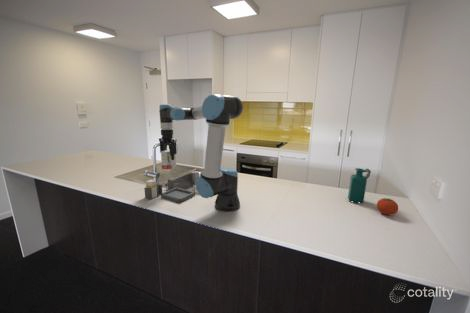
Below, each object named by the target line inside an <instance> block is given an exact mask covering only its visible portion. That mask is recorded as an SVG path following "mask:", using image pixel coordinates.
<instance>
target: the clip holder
mask: <svg viewBox="0 0 470 313" xmlns="http://www.w3.org/2000/svg"><path fill="white" fill-rule="evenodd" d="M167 188H168V190H171V189H173V188H175V180H174V179H171V178H168V179H167ZM162 193H163V185H162V184H160V183H157V180H154V179H148V180H146V181H145V187H144V198H145V199H147V200H153V199H156V198H158V197H159V196H161V194H162Z"/></svg>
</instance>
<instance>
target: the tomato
mask: <svg viewBox="0 0 470 313" xmlns="http://www.w3.org/2000/svg"><path fill="white" fill-rule="evenodd" d="M398 205H399V204H398V203H397V202H396V201H395V200H394V199H392V198H385V197H384V198H380V199H379V200H378V201H377V202H376V209H377V210H378V211H379V212H380V213H381V214H383V215H386V216H393V215H395V214H396V213H398V211H399V206H398Z"/></svg>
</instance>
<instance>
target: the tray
mask: <svg viewBox="0 0 470 313" xmlns="http://www.w3.org/2000/svg"><path fill="white" fill-rule="evenodd" d="M193 196H194V197H195V196H196V192H195V191H194V190H193V191H192V190H188V189H184V188H181V187H176V186H175V187H174V188H173V189H168V190H166V191H164V192H162V194H161V195H160V198H161V199H165V200H168V201H171V202H172V201H173V202H174V203H179V204H182V203H184V202H186V201H189V199H192V198H194V197H193Z"/></svg>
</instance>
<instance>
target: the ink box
mask: <svg viewBox="0 0 470 313" xmlns="http://www.w3.org/2000/svg"><path fill="white" fill-rule="evenodd" d="M170 155H171V154H170V150H169V149H167V150H165V151H161V153H160V158H161V170H171V169H174V168H176V167H177V160H176V159H177V158H176V157H177V156H176V154H175V155H174V165H170Z"/></svg>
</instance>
